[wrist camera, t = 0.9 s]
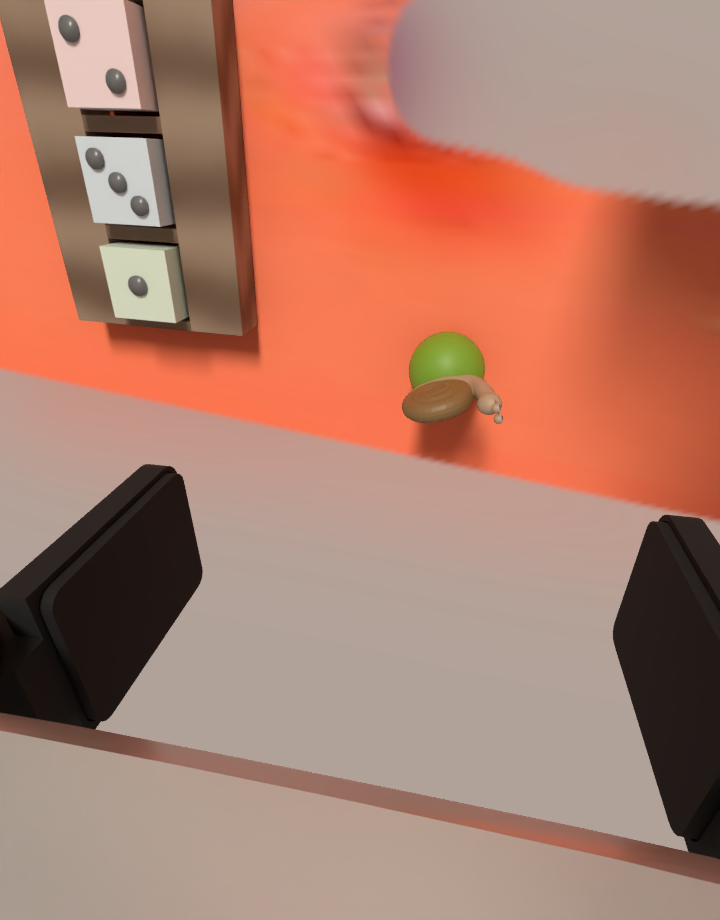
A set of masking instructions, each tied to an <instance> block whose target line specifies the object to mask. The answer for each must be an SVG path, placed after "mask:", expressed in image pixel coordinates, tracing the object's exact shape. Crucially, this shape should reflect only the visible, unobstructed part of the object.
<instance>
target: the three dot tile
mask: <svg viewBox="0 0 720 920" xmlns="http://www.w3.org/2000/svg"><path fill="white" fill-rule="evenodd" d="M75 141H76V145H77V150H78V154H79V158H80V163H81V167H82V172H83V176H84V181H85V185H86V190H87V194H88V198H89V203H90V207H91V212H92V216H93V221H94V223H108V224H124V225H140V226H156V227H162V226H166V225H171V224H176V222H175V215H174V208H173V201H172V195H171V188H170V181H169V174H168V168H167V161H166V154H165V147H164V140H163V139H150V138H123V137H91V136H75Z"/></svg>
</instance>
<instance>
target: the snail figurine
mask: <svg viewBox="0 0 720 920" xmlns="http://www.w3.org/2000/svg"><path fill="white" fill-rule="evenodd" d="M484 373H485V364H484V359H483V356H482V353H481V351H480V350H479V348H478V347H477V345H476V344H475V343H474V342H473V341H472V340H471V339H469V338H468V337H466V336H464V335H462V334H459V333H455V332H441V333H437V334H434V335H432V336H430V337H428V338H426V339H425V340H424V341H423V342H421V343H420V344H419V346H418V347H417V348H416V349H415V351H414V353H413V355H412V357H411V360H410V364H409V378H410V382H411V385H412V387H413V390H412V391H411V392H410V393H409V394H408V395H407V396H406V397H405V399H404V400H403V403H402V410H403V413H404V414H405V416H406V417H407V418H409V419H410V420H412V421H416V422H421V423H432V422H439V421H444V420H448V419H450V418H453V417H455V416H458V415H460V414H461V413H463V412H464V411H466V410H467V409H468V408H469V407H470V405H471V404H472V402H473V399H474V397H475V398H476V399H477V400H478V401H477V408H478V410H479V411H480V412H481V413H483V414H486V415H492V414H495V413H498V414H497V415H495V416H494V422H495V423H497V424H500V423H502V422H503V416H502V415H501V414H500V413H499V412H500V411H501V407H502V401H501V399H500V397H499V395H497V394H495V392H494V390H493V389H492V387H491V386H490V385H489V384H488V383H487V382H486V381H485V380H483V378H484Z"/></svg>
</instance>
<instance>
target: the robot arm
mask: <svg viewBox="0 0 720 920" xmlns="http://www.w3.org/2000/svg"><path fill="white" fill-rule="evenodd" d="M201 579H202V565H201V560H200V555H199V551H198V546H197V541H196V536H195V533H194V527H193V522H192V518H191V513H190V508H189V503H188V499H187V494H186V489H185V485H184V480H183V477H182V476H181V475H180V474H177V472H176V471H175V469H174V468H173V467H171V466H160V465H151V464H147V465H146V464H145V465H143V466H141V467H140V468H139V469H138V470H137V471H136V472H134V473H133V474H132V475H131V476H130V477H129V478H127V479H126V480H125V481H124V482H123V483H122V484H120V485H119V486H118V487H117V488H116V489H115V490H114V491H112V492H111V493H110V494H109V495H108V496H107V497H106V498H104V499H103V500H102V501H101V502H100V503H99V504H97V505H96V506H95V507H94V508H93V509H92V510H90V512H88V513H87V514H86V515H85V516H84V517H83V518H81V519H80V520H79V521H78V522H77V523H75V524H74V525H73V526H72V527H71V528H70V529H69V530H67V531H66V532H65V533H64V534H63V535H62V536H61V537H59V538H58V539H57V540H56V541H55V542H54V543H53V544H51V545H50V546H49V547H48V548H47V549H46V550H44V551H43V552H42V553H41V554H40V555H39V556H37V557H36V558H35V559H34V560H33V561H32V562H30V563H29V564H28V565H27V566H26V567H25V568H24V569H23V570H21V571H20V572H19V573H18V574H17V575H15V576H14V577H13V578H12V579H11V580H10V581H9V582H7V583H6V584H5V585H4V586H3V587H2V588H0V920H720V545H719V543H718V542H717V540H716V539H715V537H714V536H713V534H712V533H711V531H710V530H709V528H708V527H707V525H706V524H705V522H704V521H703V520H702V519H699V518H693V517H683V516H673V515H664V516H662V517H661V518H660V519H659V521H658V522H654V521H653V522H650V523H649V525H648V527H647V529H646V532H645V535H644V538H643V541H642V544H641V547H640V550H639V553H638V556H637V559H636V562H635V564H634V567H633V570H632V573H631V576H630V579H629V582H628V585H627V588H626V591H625V594H624V597H623V600H622V603H621V605H620V608H619V611H618V614H617V617H616V620H615V623H614V628H613V640H614V645H615V648H616V652H617V655H618V658H619V661H620V665H621V668H622V671H623V675H624V678H625V681H626V684H627V688H628V691H629V694H630V697H631V701H632V704H633V707H634V710H635V713H636V717H637V720H638V723H639V727H640V730H641V733H642V736H643V740H644V743H645V746H646V749H647V753H648V756H649V759H650V762H651V765H652V769H653V772H654V775H655V779H656V782H657V785H658V788H659V791H660V795H661V798H662V801H663V805H664V808H665V811H666V814H667V818H668V821H669V823H670V826H671V828H672V830H673V832H674V833H675V834H676V835H677V836H682V837H684V839H685V842H686V845H687V848H688V851H689V852H686V851H682V850H677V849H673V848H668V847H664V846H660V845H655V844H651V843H646V842H642V841H637V840H633V839H628V838H624V837H620V836H615V835H611V834H606V833H602V832H597V831H593V830H588V829H584V828H579V827H574V826H569V825H565V824H560V823H555V822H550V821H545V820H540V819H536V818H531V817H526V816H521V815H516V814H511V813H507V812H502V811H497V810H492V809H487V808H483V807H478V806H472V805H468V804H463V803H458V802H454V801H449V800H444V799H439V798H434V797H430V796H425V795H420V794H415V793H410V792H405V791H400V790H396V789H391V788H386V787H381V786H376V785H371V784H366V783H361V782H356V781H351V780H346V779H341V778H336V777H331V776H326V775H322V774H317V773H312V772H307V771H301V770H297V769H292V768H287V767H282V766H276V765H272V764H267V763H262V762H257V761H252V760H247V759H242V758H237V757H232V756H227V755H222V754H217V753H212V752H207V751H202V750H197V749H191V748H187V747H181V746H176V745H171V744H166V743H161V742H156V741H151V740H146V739H141V738H135V737H130V736H125V735H120V734H115V733H110V732H104V731H99V730H95V729H96V727H97V726H98V724H99V723H100V722H101V721H106V720H107V719H108V718H109V717H110V716H111V715H112V714H113V712H114V711H115V709H116V708H117V706H118V705H119V704H120V702H121V701H122V699H123V698H124V696H125V694H126V693H127V692H128V690H129V689H130V687H131V685H132V684H133V683H134V681H135V680H136V678H137V677H138V675H139V674H140V672H141V671H142V669H143V668H144V666H145V665H146V663H147V662H148V660H149V659H150V657H151V656H152V654H153V653H154V652H155V650H156V649H157V647H158V646H159V644H160V643H161V641H162V640H163V638H164V637H165V635H166V634H167V632H168V631H169V629H170V628H171V626H172V625H173V623H174V622H175V620H176V619H177V617H178V616H179V614H180V613H181V611H182V610H183V608H184V607H185V605H186V604H187V602H188V601H189V600H190V598H191V597H192V595H193V594H194V592H195V591H196V589H197V587H198V586H199V584H200V582H201Z"/></svg>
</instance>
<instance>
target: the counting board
mask: <svg viewBox="0 0 720 920" xmlns="http://www.w3.org/2000/svg"><path fill="white" fill-rule="evenodd" d="M128 1H131V2H133V3H135V4H137V5H139V6H142V7H144V12H145V18H146V25H147V32H148V39H149V46H150V52H151V59H152V66H153V73H154V79H155V86H156V93H157V100H158V107H159V113H160V117H153V116H110V114H109V111H94V110H86V109H78V108H71V107H68V105H67V101H66V96H65V92H64V87H63V83H62V78H61V74H60V70H59V65H58V61H57V56H56V52H55V47H54V43H53V39H52V34H51V30H50V25H49V21H48V16H47V12H46V7H45V3H44V0H0V20H1V24H2V28H3V32H4V35H5V39H6V43H7V47H8V51H9V54H10V58H11V62H12V66H13V70H14V73H15V77H16V81H17V85H18V89H19V92H20V96H21V100H22V104H23V108H24V111H25V115H26V119H27V123H28V127H29V130H30V134H31V138H32V142H33V146H34V149H35V153H36V157H37V161H38V165H39V168H40V172H41V176H42V180H43V184H44V187H45V191H46V195H47V199H48V203H49V206H50V210H51V214H52V218H53V222H54V225H55V229H56V233H57V237H58V241H59V244H60V248H61V252H62V256H63V260H64V263H65V267H66V271H67V275H68V279H69V282H70V286H71V290H72V294H73V298H74V301H75V305H76V309H77V313H78V317H79V320H84V321H94V322H105V323H115V324H125V325H135V326H145V327H155V328H165V329H176V330H186V331H196V332H206V333H216V334H226V335H237V336H243V335H245V334H246V333H248V332H249V331H250V330H252V329H253V328H254V327H256V326H257V312H256V299H255V286H254V273H253V260H252V247H251V234H250V221H249V208H248V195H247V182H246V170H245V157H244V144H243V131H242V118H241V105H240V92H239V79H238V66H237V53H236V40H235V27H234V15H233V2H232V0H128ZM113 134H146V135H163V140H164V147H165V154H166V161H167V168H168V174H169V181H170V188H171V195H172V201H173V208H174V215H175V222H176V224H171V225H166V226H162V227H156V226H140V225H124V224H108V223H94V221H93V216H92V212H91V207H90V203H89V198H88V194H87V190H86V185H85V181H84V176H83V172H82V167H81V163H80V158H79V154H78V150H77V145H76V141H75V136H91V137H114V135H113ZM134 240H138V241H153V242H168V243H179V249H180V256H181V262H182V269H183V276H184V283H185V289H186V296H187V303H188V310H189V317H187V318H185V319H183V320H181V321H179V322H177V323H169V322H159V321H148V320H138V319H128V318H117V317H115V314H114V310H113V305H112V301H111V296H110V292H109V287H108V283H107V278H106V274H105V270H104V265H103V261H102V256H101V252H100V247H99V246H102V245H106V244H111V243H115V242H120V241H124V242H134Z"/></svg>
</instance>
